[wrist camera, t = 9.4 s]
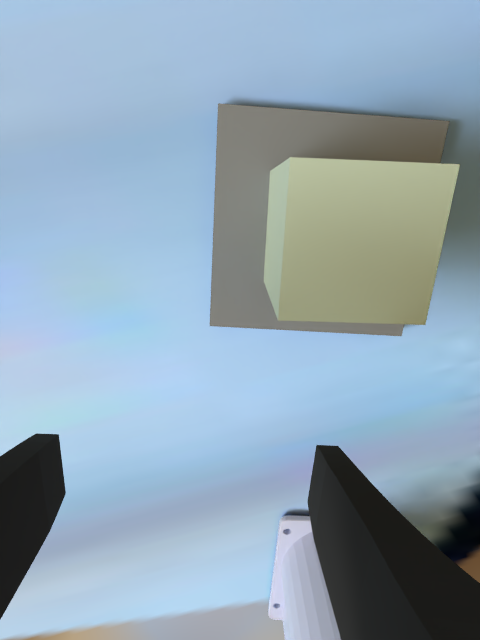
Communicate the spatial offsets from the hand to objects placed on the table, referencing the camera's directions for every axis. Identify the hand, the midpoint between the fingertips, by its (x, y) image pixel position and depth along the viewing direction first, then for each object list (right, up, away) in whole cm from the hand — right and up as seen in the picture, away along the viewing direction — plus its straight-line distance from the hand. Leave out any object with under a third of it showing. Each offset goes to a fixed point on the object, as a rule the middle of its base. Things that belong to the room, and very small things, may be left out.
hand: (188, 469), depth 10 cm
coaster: (+5, +9, +8) cm, 13 cm away
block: (+5, +8, +7) cm, 12 cm away
